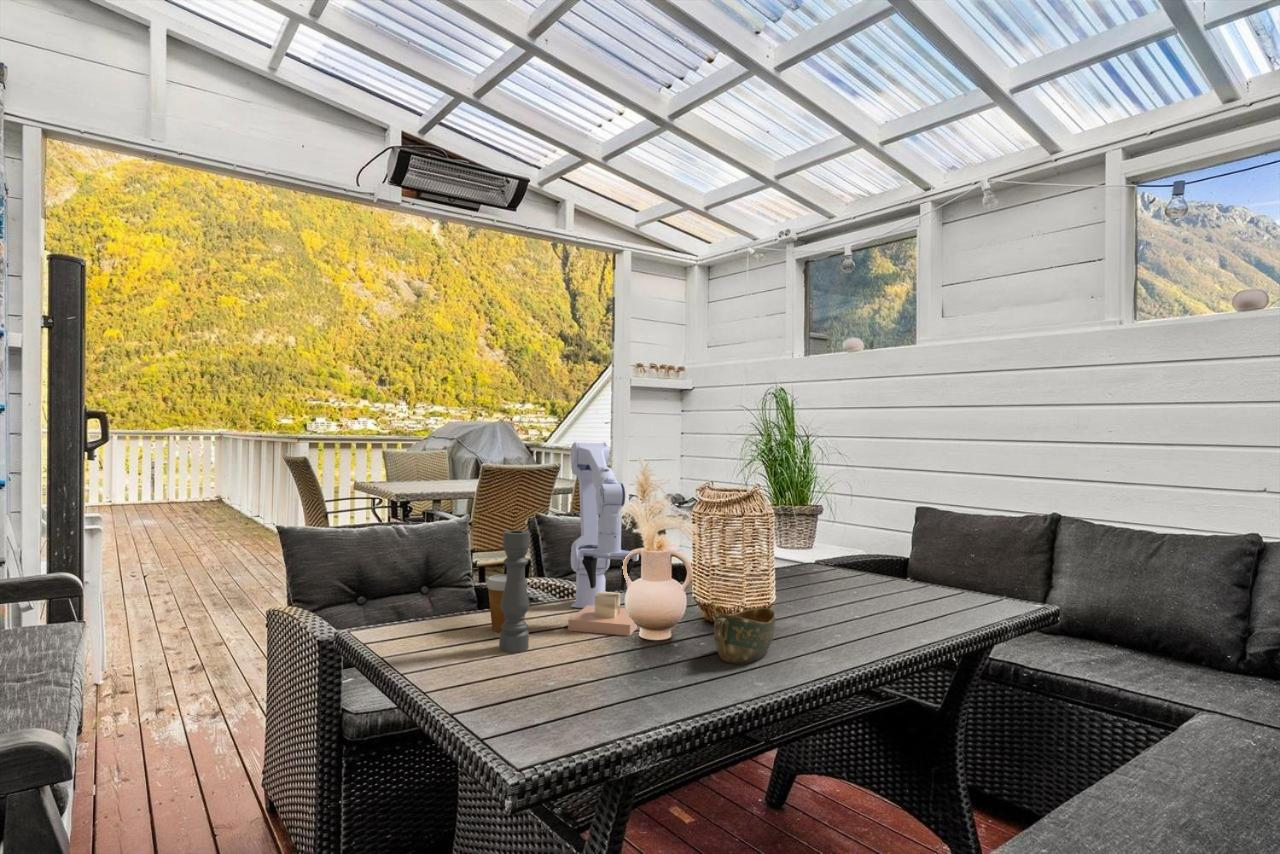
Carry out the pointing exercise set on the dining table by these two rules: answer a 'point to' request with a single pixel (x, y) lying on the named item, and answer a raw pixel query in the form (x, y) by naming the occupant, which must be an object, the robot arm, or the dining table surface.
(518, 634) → the candle holder
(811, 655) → the dining table surface
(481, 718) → the dining table surface
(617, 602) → the birch block
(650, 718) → the dining table surface
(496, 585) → the disposable coffee cup
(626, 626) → the terracotta base
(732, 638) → the creamer
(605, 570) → the robot arm
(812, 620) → the dining table surface
